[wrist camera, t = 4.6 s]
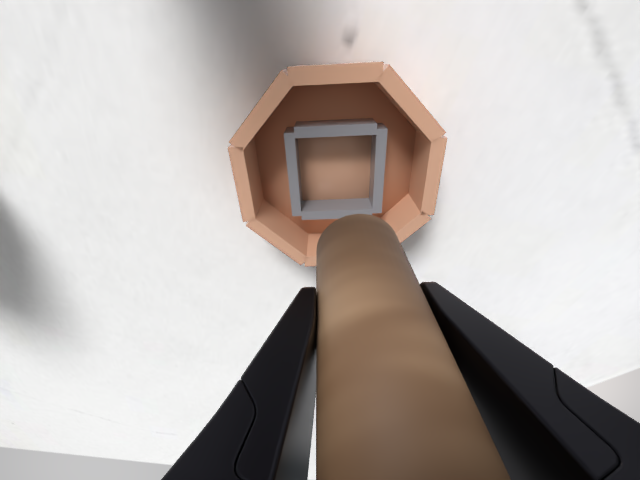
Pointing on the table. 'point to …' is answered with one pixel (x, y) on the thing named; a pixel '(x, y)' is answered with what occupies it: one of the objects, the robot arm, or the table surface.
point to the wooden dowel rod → (388, 369)
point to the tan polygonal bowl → (335, 155)
